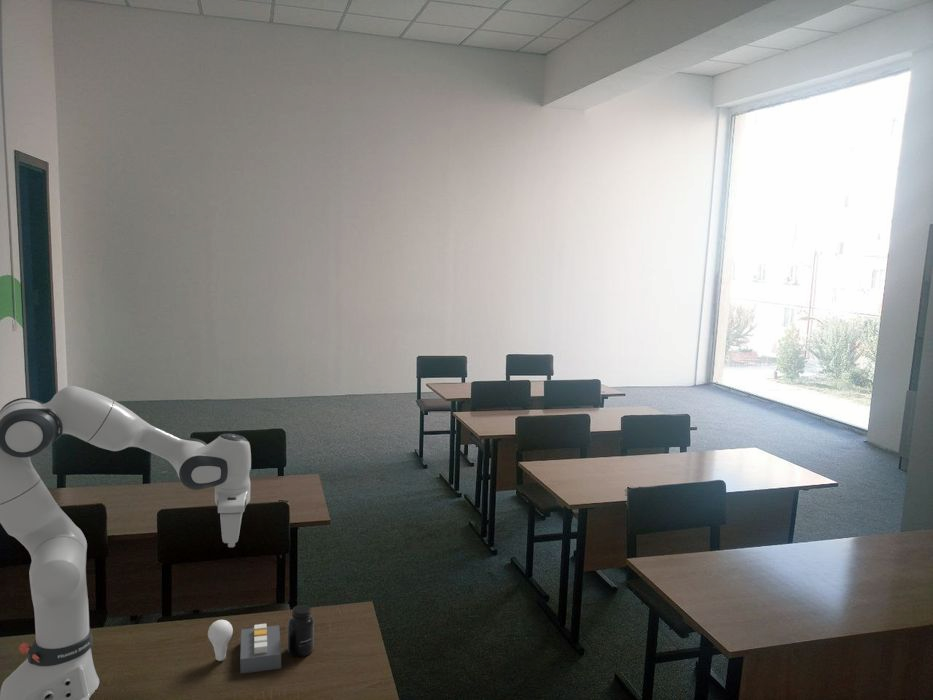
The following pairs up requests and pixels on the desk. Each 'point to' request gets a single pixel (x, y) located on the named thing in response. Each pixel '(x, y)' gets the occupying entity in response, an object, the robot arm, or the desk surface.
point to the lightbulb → (220, 637)
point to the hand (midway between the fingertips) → (231, 544)
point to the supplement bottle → (300, 631)
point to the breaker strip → (264, 657)
